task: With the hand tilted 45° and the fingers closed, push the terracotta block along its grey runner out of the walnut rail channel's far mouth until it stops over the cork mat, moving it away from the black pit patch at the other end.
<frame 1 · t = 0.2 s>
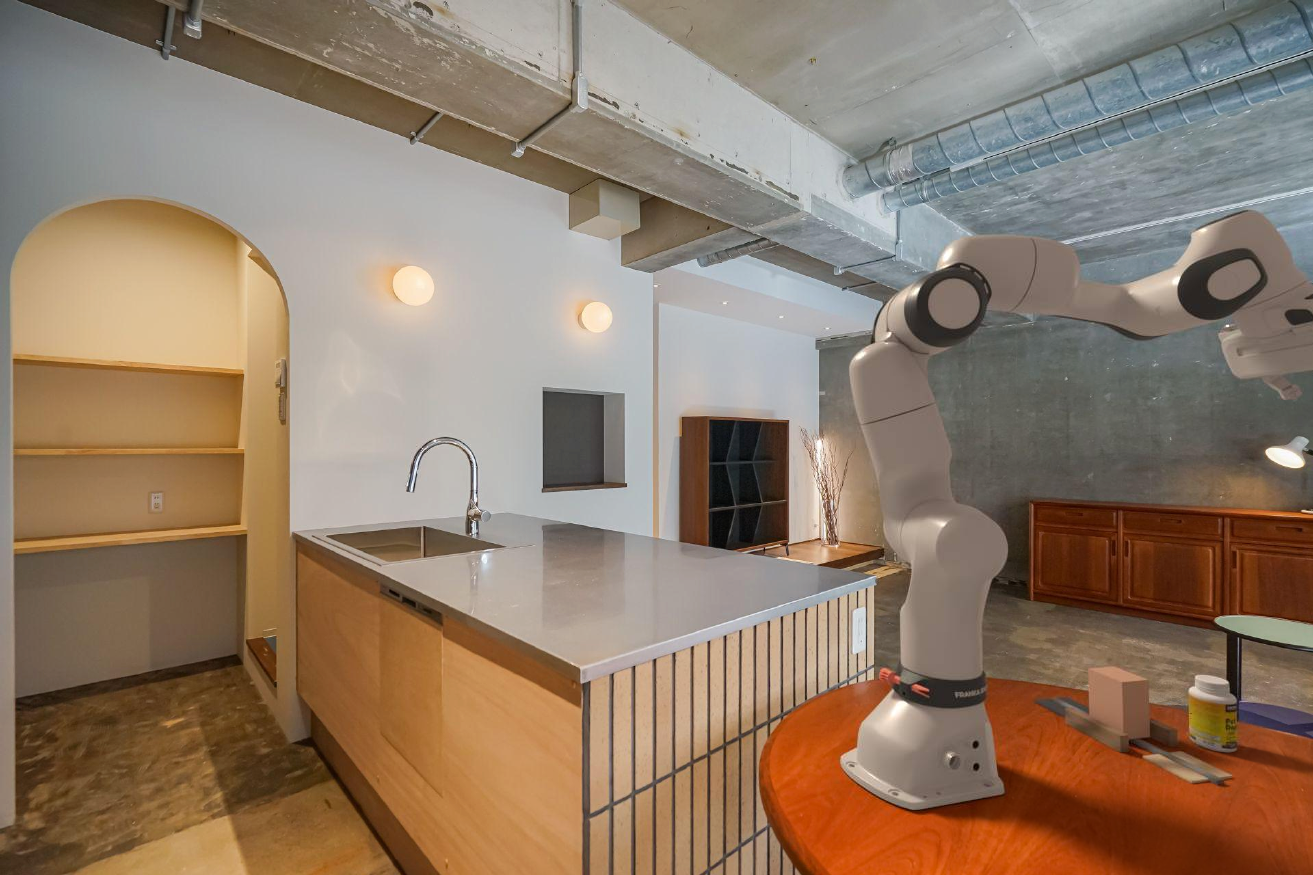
track: (1119, 734, 98), on the table
supplement bottle: (1213, 746, 94), on the table
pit: (1066, 707, 108), resting in track
mat: (1186, 767, 88), resting in track
block: (1118, 701, 98), point 5 cm above the table, slide at 0.0 cm
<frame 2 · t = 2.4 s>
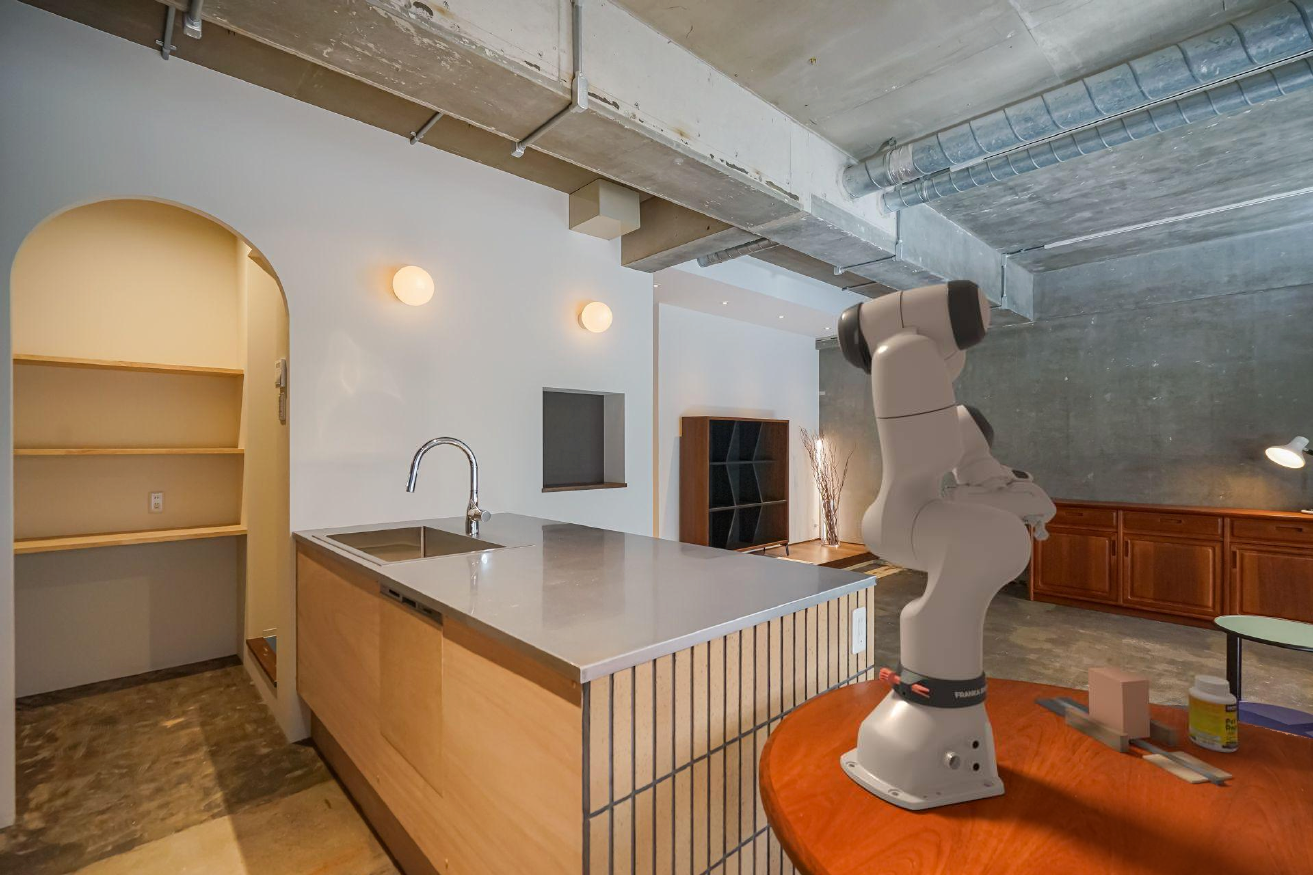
hand: (1023, 539, 113), 29 cm above the table, tool tilted 45°, fingers open, 7 cm apart
nothing on the table moved.
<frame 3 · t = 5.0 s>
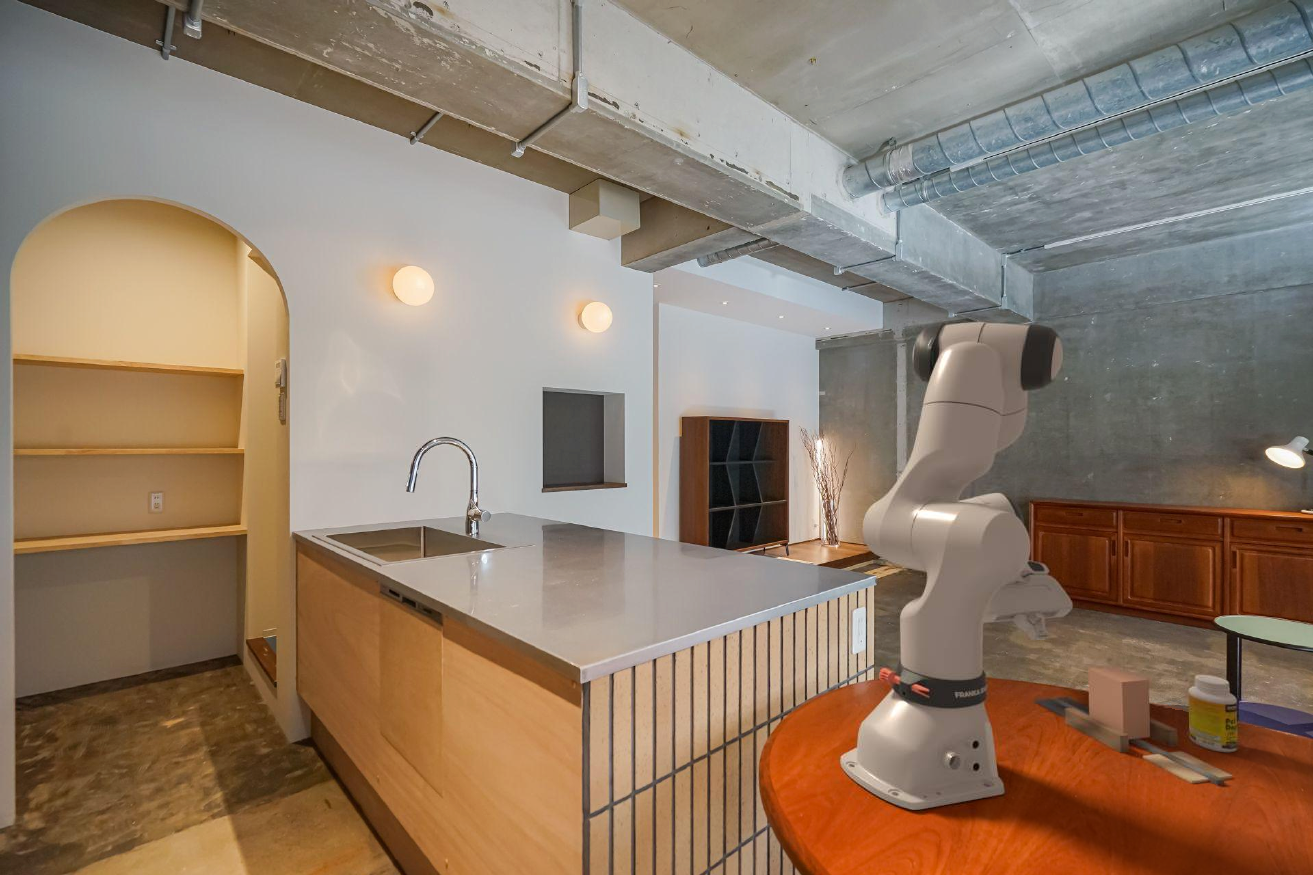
hand: (1041, 638, 113), 11 cm above the table, tool tilted 45°, fingers closed
nothing on the table moved.
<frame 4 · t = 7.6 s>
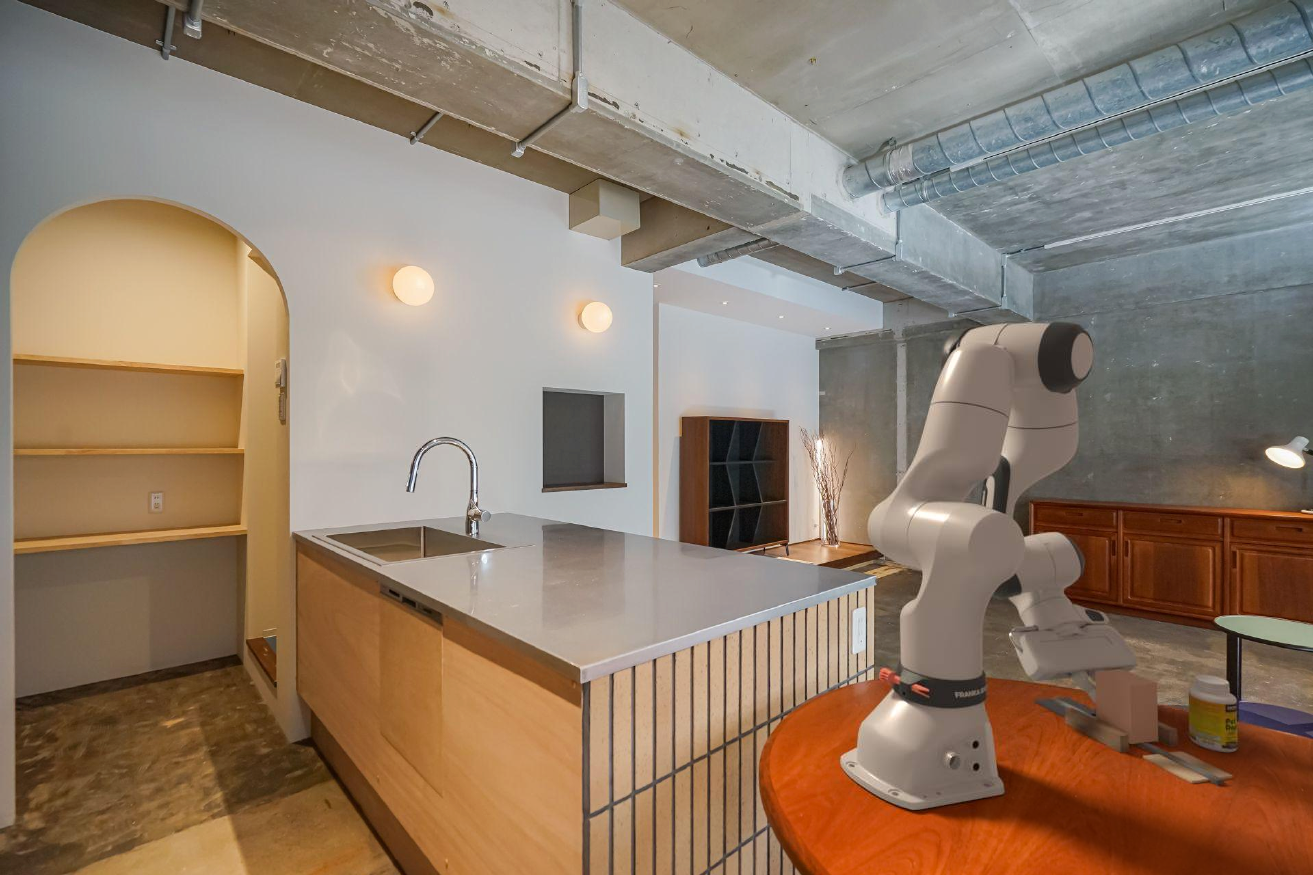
hand: (1104, 700, 100), 4 cm above the table, tool tilted 45°, fingers closed, pressing on block
block: (1125, 705, 97), point 5 cm above the table, slide at 1.3 cm, touching gripper
everything else where it was.
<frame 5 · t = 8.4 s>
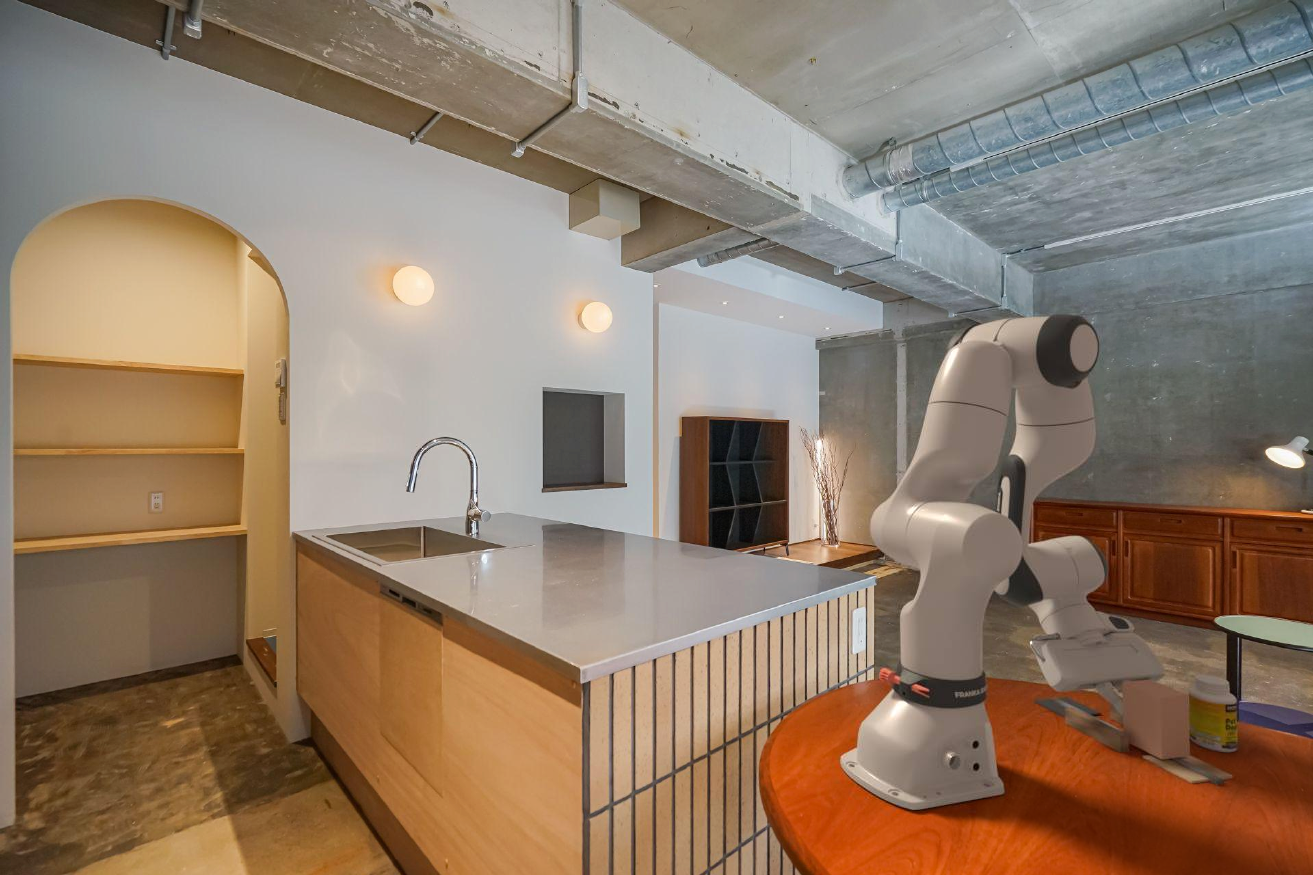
hand: (1131, 712, 96), 4 cm above the table, tool tilted 45°, fingers closed, pressing on block
block: (1155, 717, 92), point 5 cm above the table, slide at 6.0 cm, touching gripper
everything else where it was.
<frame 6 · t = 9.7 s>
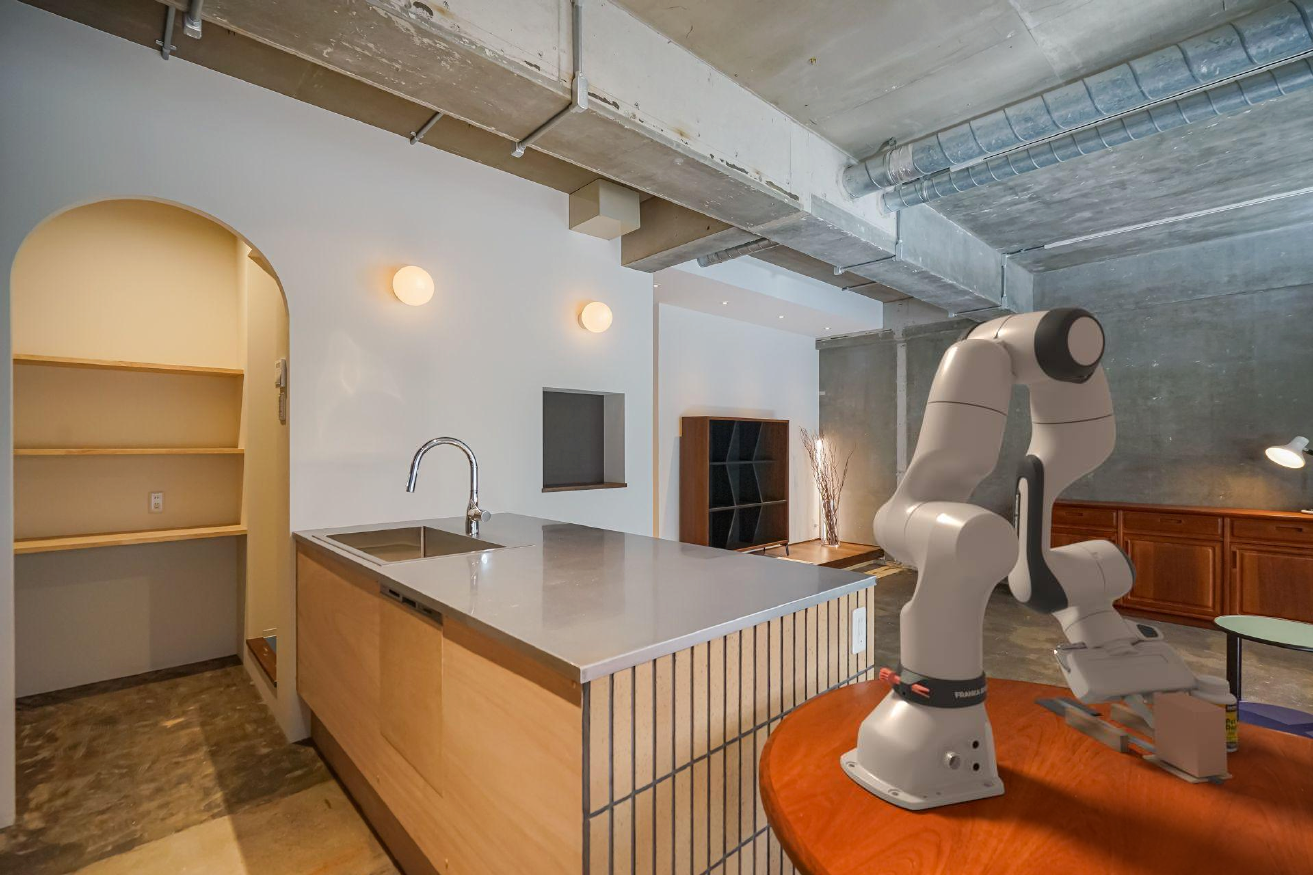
hand: (1163, 726, 91), 5 cm above the table, tool tilted 45°, fingers closed, pressing on block
block: (1189, 733, 87), point 5 cm above the table, slide at 11.0 cm, touching gripper
everything else where it was.
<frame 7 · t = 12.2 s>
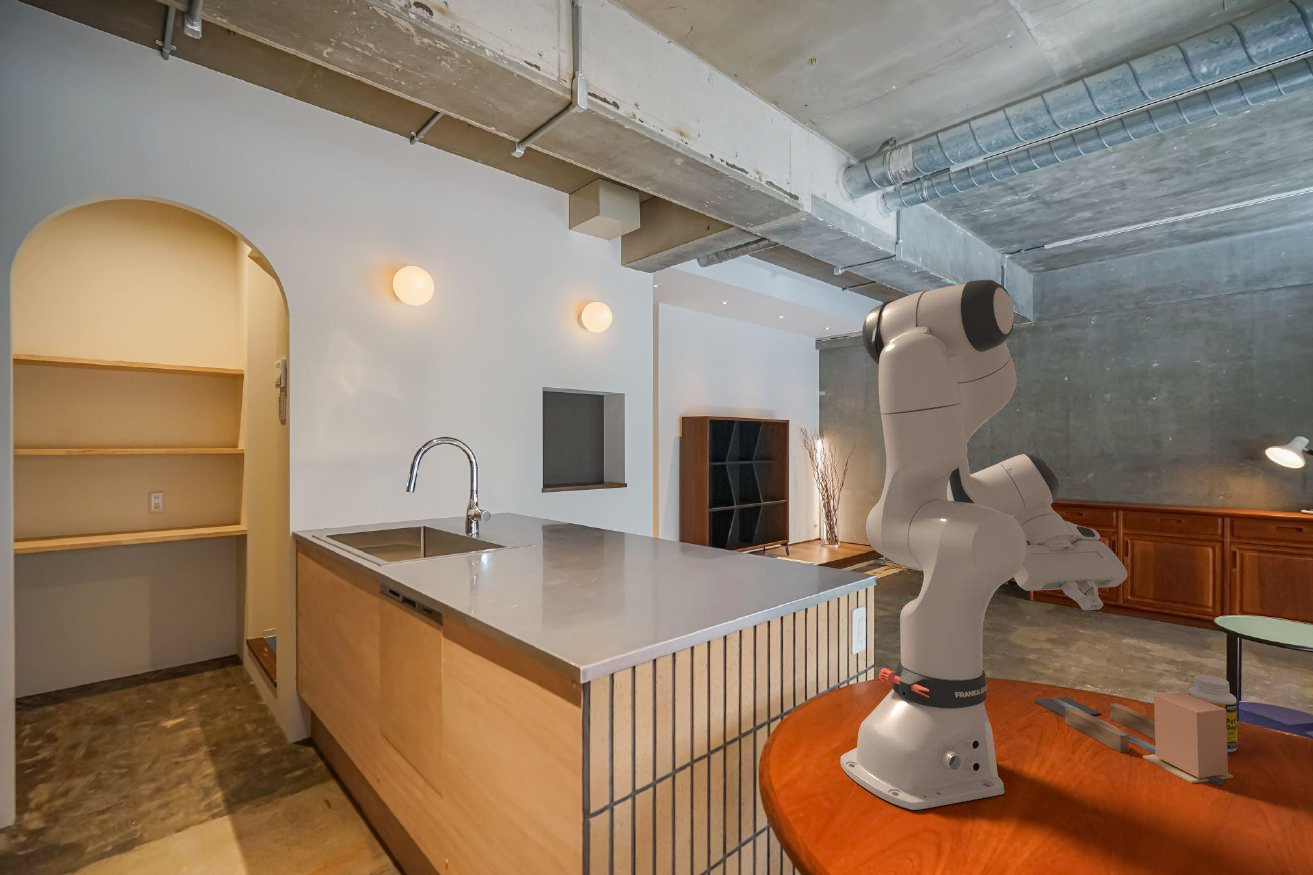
hand: (1093, 608, 102), 19 cm above the table, tool tilted 45°, fingers closed
block: (1189, 733, 87), point 5 cm above the table, slide at 11.1 cm
everything else where it was.
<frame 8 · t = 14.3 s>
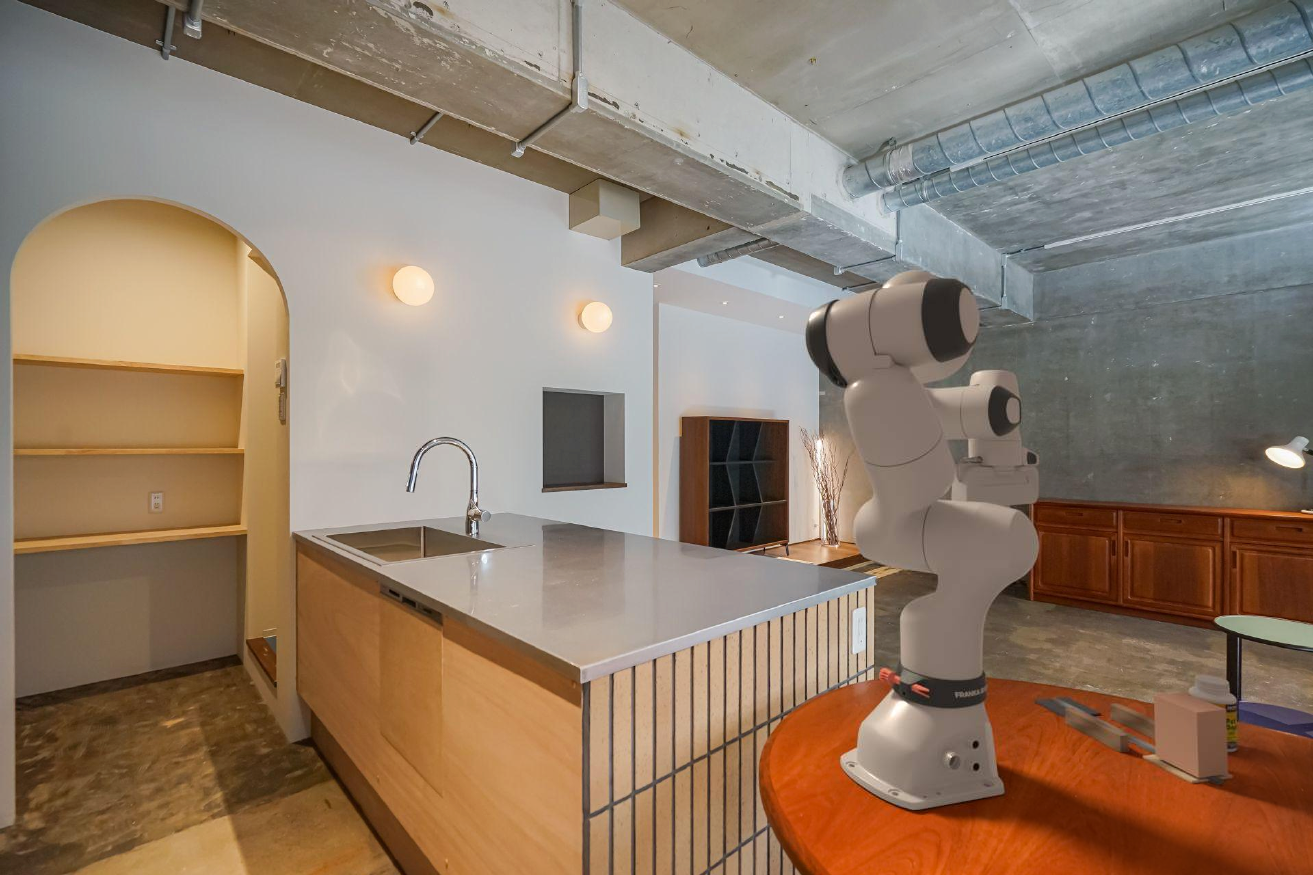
hand: (996, 529, 114), 31 cm above the table, tool pointing down, fingers closed
nothing on the table moved.
at the end: block slide at 11.1 cm; block 0.6 cm from the mat (horizontally) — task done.
